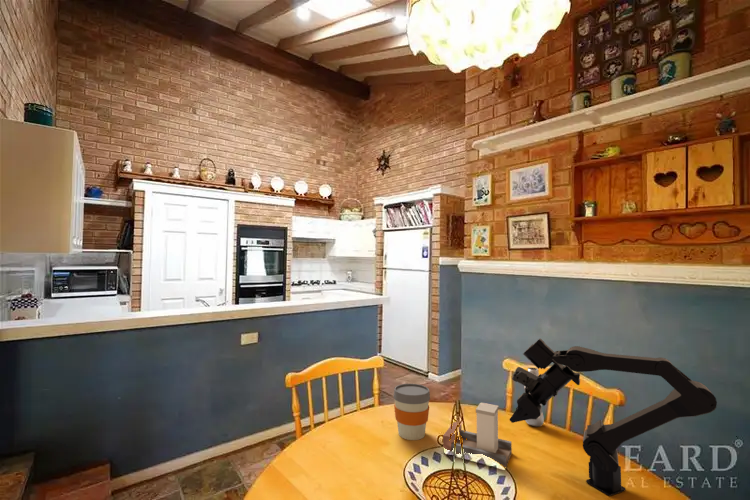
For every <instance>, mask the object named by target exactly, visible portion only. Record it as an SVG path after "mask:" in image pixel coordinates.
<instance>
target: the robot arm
mask: <svg viewBox="0 0 750 500" xmlns="http://www.w3.org/2000/svg"><path fill="white" fill-rule="evenodd" d="M522 355H523V356H524V357H525V358H526V359H528V361H529V362H530V363H531V364H533V365H534V366H535V368H537V369H538V370H539V369H541V370H542V369H543V370H545V369H546V368H548V367H549V368H548V369H547V370H546V371H545V372H543V373H539V375H538V376H536V375H534V374H532V373H531V372H529V371H528V369H525V368H522V367H520V366H517V367H516V369H515V371H514V373H513V375H512V377H511V379H512V380H513V382H515V383H518V384H521V385H523V387H524V386H526V387H525V388H524V392H523V393H522V394H520V396H519V397H518V398H517V399H516V404H517V406H516V408H515V411H514V412H513V413H512V415H511V416H510V418H509V422H511V423H512V424H513V423H517V422H518V423H519V422H523V421H525V420H529V419H535V420H536V419H537V418H538V417H539V416H540V415H541V413H543V407H545V406H546V405H547V403H548V401H549V400H551V399H552V398H553V397H556V396H557V395H558V394H559V391H561V390H562V389H564V387H565V386H566V385H568V384H569V383H570V382H573V383H574V384H576V386H580V384H581V379H580V376H581V372H582V373H584V372H595V371H615V372H625V373H631V374H640V375H641V374H642V375H648V376H649V375H651V376H659V377H661V378H663V380H664V381H665V382H667V383H668V384H669V385H670V386H671V387H672V388H673V389H672V391H670V392H669V394H667V396H666V397H665V398H664V399H662V400H661V401H658V402H656V403H654V404H652V405H650V406H648V407H645V408H643V409H641V410H639V411H637V412H635V413H633V414H630V415H627V417H624V418H622V419H620V420H618V421H616V422H613V423H611V424H610V423H609V424H604V423H603V421H602V420H601V419H599V420H597V421H596V422H595V423H593V424H587V426H586V429H585V430H584V431H583V438H582V439H583V440H582V449H583V450H584V451H583V452H585V454H586V455H587V456H588V457H589V461H588V479H586V480H585V482H586V484H588V485H590V486H592V487H594V488H595V489H597V490H599V492H602V493H604V494H606V496H610V497H611V496H614V495H617V494H620V493H622V492H625V491H626V487H625V486H622V469H621V468H622V467H621V466H620V465H619V464H620V462H619V454H618V448H619V447H620V446H621V445H622V444H623V443H625V442H627V441H629V440H631V439H634V438H636V437H638V436H640V435H643V434H645V433H647V432H649V431H651V430H653V429H656V428H658V427H660V426H663V425H665V424H667V423H670V422H672V421H675V420H676V419H679V418H693V417H698V416H702V415H706V414H710V413H712V412H714V411H715V410H716V409H717V406H718V405H717V403H718V402H717V398H716V396H715V395H714V393H712V391H710V389H709V388H708V387H707V386H706V385H705V384H703V383H702V382H699V381H696V380H692V379H691V378H690V377H689V376H687V375H686V374H685V373H684V372H682V371H681V370H680V369H678V368H677V367H676V366H675V365H674V364H673V363H672V362H671V361H670V360H669V359H667V358H665V357H648V356H638V355H637V356H635V355H627V354H626V355H625V354H615V353H605V352H600V351H598V350H595V349H592V348H587V347H583V346H580V345H579V346H578V345H577V346H571V347H569V348H568V349H565V350H555V351H554V350H553V349H552V348H551V347H550V346H548V344H546V342H545V341H544V340H543V339H542V338H538V339H537V340H536V341H535V342H534V343H532V344H530V346H529V347H528V348H527V349H526V350H525V351H524V352H523V353H522ZM552 363H553V364H552ZM551 364H552V365H551ZM550 365H551V366H550ZM540 404H542V406H541V405H540Z"/></svg>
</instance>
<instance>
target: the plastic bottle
mask: <svg viewBox="0 0 750 500" xmlns="http://www.w3.org/2000/svg"><path fill="white" fill-rule="evenodd" d="M527 371H529V372H531V373H532V374H534V375H536V376H538V375H540V373H539V369H538V368H537V367H528V368H527ZM523 387H524V389H525V387H526V386H524V385H523ZM540 405H541V406H542V407H543V405H542V404H540ZM544 420H545V418H544V413H543V412H542V413H541V415H540V416H539V417H538V418H537V419H536V420H535V419H529V420H524V421H525V423H526V424H527V425H530V426H532V427H542V426H543V424H544Z"/></svg>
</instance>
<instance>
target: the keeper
mask: <svg viewBox="0 0 750 500" xmlns="http://www.w3.org/2000/svg"><path fill="white" fill-rule="evenodd" d="M499 407H500V406H499V405H497V404H490V403H486V402H480V403H479V404H478V406H477V407H476V408H475V414H476V433H477V449H481V450H485V451H489V452H493V453H496V452H497V450H498V439H499V417H498V416H499Z"/></svg>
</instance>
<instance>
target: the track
mask: <svg viewBox="0 0 750 500" xmlns="http://www.w3.org/2000/svg"><path fill="white" fill-rule="evenodd" d="M457 423H458V422H457V421H454V422H453V423H452V424H453V426H452V429H451V425H450V426H449V427H448V429H447V430H446V431H445V432H444V434H442V448H443V447H444V448H445V449H447V450H450V451H452V450H453V448H454V440H455V434H454V431H455V429H456V426H457ZM464 431H465V432H464ZM459 432H460V435H461V436H462V438H463V449H464V453H465V452H466V453H470V454H471V453H472V454H483V455H485V456H487V457H490V458H492V459H494V460H495V461H497V462H499V463H500V464H502V465H503V466H504V467H506V468H507V467H508V464H509V462H510V459H511V456H512V453H513V452H512V451H513V449H512V441H510V440H508V439H507V440H506V439H502V438H498V450H497V452H496V453H493V452H489V451H485V450H481V449H477V432H472V431H468V430H464V429H462V423H461V424H460V427H459ZM451 433H453V434H452V436H451V440H450V441H449V439H450V434H451ZM457 435H458V432H457ZM466 438H467V440H466ZM459 453H460V454H461V444H460V440H459V437H458V439H457V443H456V454H459Z"/></svg>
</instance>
